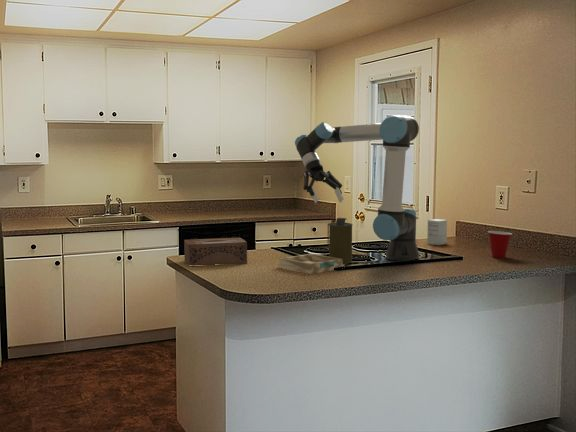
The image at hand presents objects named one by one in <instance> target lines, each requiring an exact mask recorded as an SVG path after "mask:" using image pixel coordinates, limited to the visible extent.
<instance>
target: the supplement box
mask: <svg viewBox="0 0 576 432" xmlns="http://www.w3.org/2000/svg"><path fill="white" fill-rule="evenodd" d="M426 238H427V244H428V245H435V246H442V245H446V244H448V243H447V242H448V220H447V219H442V218H441V219H440V218H434V219H433V218H432V219H428V220H427V237H426Z"/></svg>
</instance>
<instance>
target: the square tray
mask: <svg viewBox="0 0 576 432" xmlns="http://www.w3.org/2000/svg"><path fill="white" fill-rule="evenodd" d="M341 266H344V267H345V265H343V259H340V258H334V257H329V255H328V256H327V255H322V254H316V253H307V254H299V255H294V256H287V257H281V258H279V264H277V269H281V268H282V270H286V269H287V271H292V272H296V271H297V272H296V273H301V272H302V274H306V273H307V275H315V274H320V273H324V272H325V273H326V272H331V271H332V272H333V271H335V270H334V268H335V267H341Z"/></svg>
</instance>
